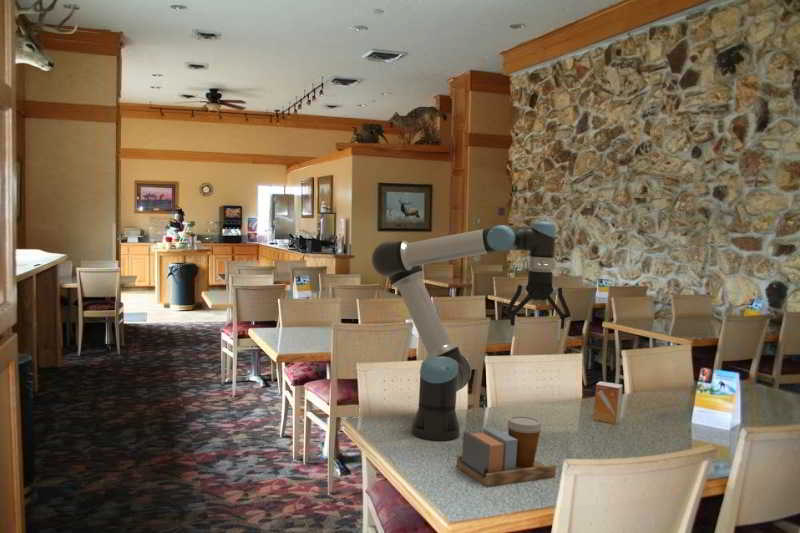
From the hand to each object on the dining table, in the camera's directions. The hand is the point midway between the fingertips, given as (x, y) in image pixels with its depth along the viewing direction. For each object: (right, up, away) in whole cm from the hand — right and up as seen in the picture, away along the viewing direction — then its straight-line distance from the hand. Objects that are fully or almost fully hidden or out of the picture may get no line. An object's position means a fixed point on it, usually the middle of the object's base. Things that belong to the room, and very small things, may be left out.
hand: (536, 337), depth 211 cm
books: (-19, -31, -33) cm, 49 cm away
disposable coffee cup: (-10, -32, -29) cm, 44 cm away
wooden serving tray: (-15, -33, -31) cm, 47 cm away
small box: (+30, -32, +25) cm, 50 cm away
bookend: (-24, -31, -35) cm, 53 cm away
